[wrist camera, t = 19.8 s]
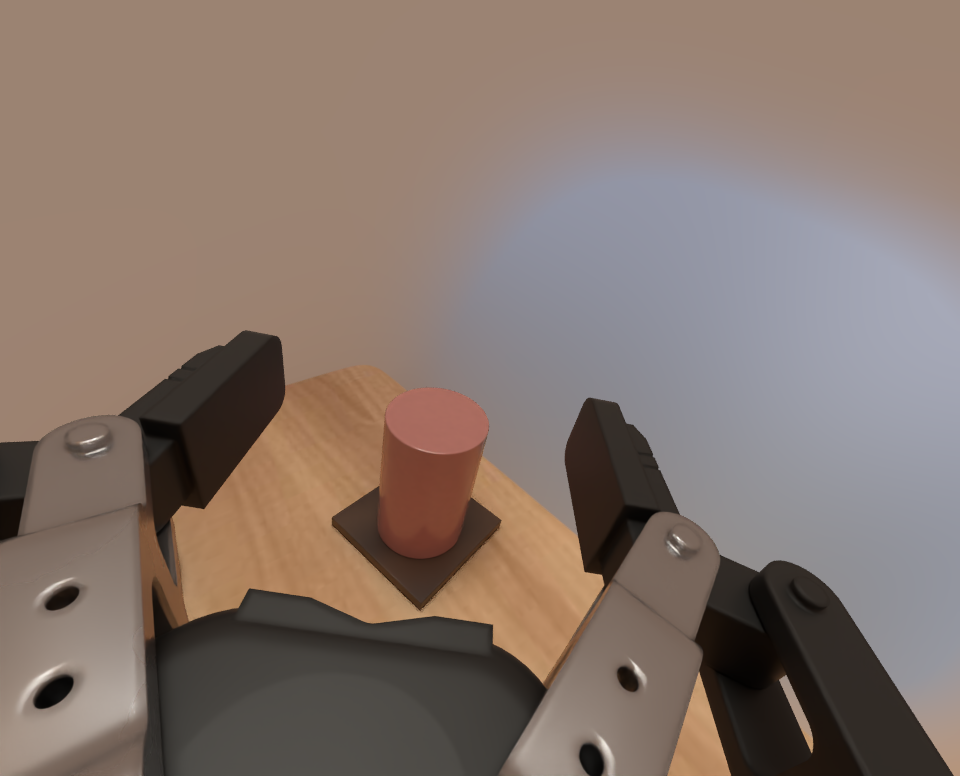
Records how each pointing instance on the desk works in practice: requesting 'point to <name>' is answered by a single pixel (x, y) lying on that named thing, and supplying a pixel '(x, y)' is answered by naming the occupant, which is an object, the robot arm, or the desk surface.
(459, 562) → the coaster
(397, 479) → the terracotta cylinder
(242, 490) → the desk surface
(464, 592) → the desk surface
